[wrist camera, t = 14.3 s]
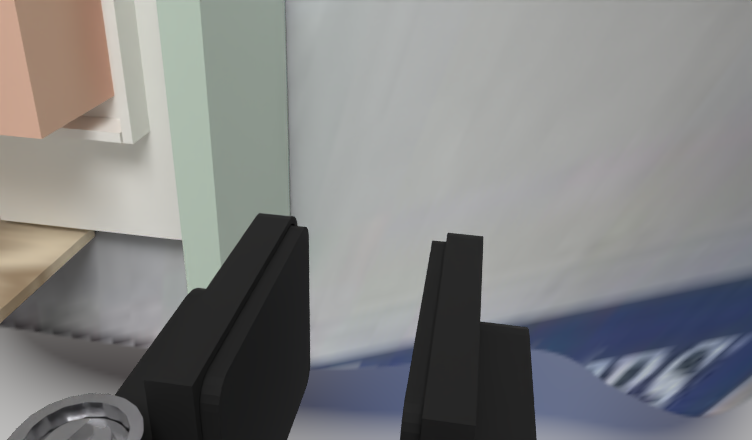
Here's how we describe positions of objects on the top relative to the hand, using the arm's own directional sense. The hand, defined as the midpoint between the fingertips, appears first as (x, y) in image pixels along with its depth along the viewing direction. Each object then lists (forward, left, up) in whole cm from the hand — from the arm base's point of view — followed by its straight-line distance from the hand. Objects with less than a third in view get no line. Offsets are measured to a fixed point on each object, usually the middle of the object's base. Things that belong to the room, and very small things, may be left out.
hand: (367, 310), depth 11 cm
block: (+15, 0, -16) cm, 22 cm away
